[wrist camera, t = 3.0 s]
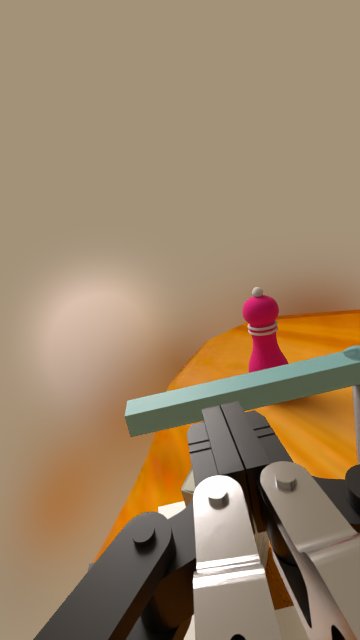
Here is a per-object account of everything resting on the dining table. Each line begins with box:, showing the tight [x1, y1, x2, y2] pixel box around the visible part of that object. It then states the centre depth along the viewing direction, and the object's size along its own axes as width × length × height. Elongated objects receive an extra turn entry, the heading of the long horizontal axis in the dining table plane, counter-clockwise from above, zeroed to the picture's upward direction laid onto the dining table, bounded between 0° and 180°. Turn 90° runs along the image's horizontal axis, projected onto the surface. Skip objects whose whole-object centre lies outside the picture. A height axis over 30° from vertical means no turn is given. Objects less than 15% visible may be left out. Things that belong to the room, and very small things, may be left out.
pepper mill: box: [243, 287, 288, 373], centre depth 52 cm, size 7×7×20 cm
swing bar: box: [125, 345, 360, 437], centre depth 23 cm, size 21×3×2 cm, turn 94°
